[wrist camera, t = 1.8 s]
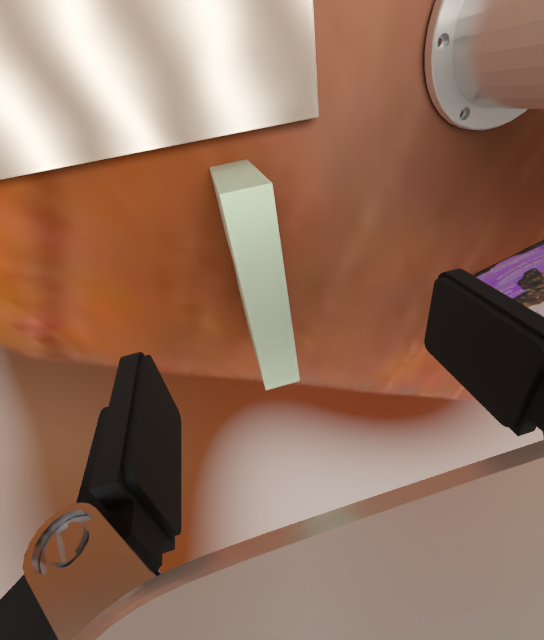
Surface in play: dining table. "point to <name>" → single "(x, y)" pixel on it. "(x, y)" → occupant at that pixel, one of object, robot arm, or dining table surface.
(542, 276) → the candy box
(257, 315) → the cross piece
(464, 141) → the dining table surface
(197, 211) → the dining table surface
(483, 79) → the robot arm
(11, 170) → the white rectangular board
